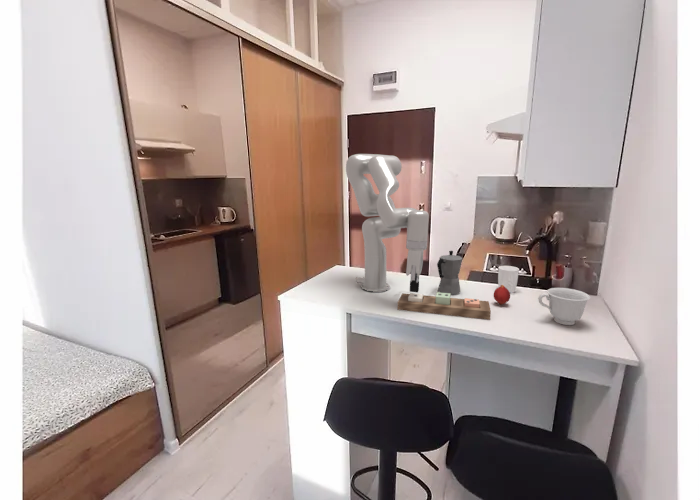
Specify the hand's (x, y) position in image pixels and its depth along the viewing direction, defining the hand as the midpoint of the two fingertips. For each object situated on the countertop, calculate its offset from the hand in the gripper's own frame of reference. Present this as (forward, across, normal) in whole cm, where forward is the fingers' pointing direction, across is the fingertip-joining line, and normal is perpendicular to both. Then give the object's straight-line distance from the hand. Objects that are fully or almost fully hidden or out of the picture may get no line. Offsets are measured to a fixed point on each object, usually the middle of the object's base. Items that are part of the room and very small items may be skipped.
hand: (414, 291), depth 126 cm
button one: (+5, +1, +1) cm, 5 cm away
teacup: (+5, +1, +49) cm, 49 cm away
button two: (+3, +1, +11) cm, 11 cm away
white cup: (+6, -28, +36) cm, 46 cm away
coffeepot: (+6, -19, +12) cm, 23 cm away
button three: (+4, +1, +21) cm, 21 cm away
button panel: (+6, +1, +11) cm, 12 cm away
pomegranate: (+5, -10, +32) cm, 34 cm away
